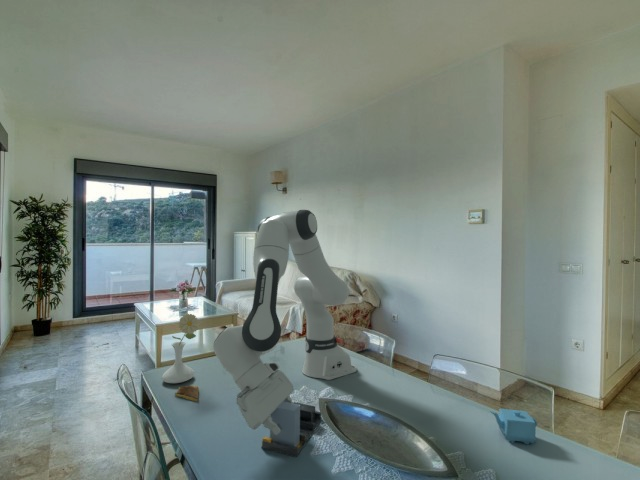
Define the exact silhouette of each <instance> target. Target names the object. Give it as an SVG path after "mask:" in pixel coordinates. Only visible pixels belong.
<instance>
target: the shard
mask: <svg viewBox="0 0 640 480" xmlns="http://www.w3.org/2000/svg"><path fill="white" fill-rule="evenodd" d="M199 388H200V387H199V386H198V385H185V386H179V387H178V389H177V391H176V392H175V393H174V396H175V397H178V398H183V399H186V400H189V401H192V402H199V390H200V389H199Z"/></svg>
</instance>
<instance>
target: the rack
mask: <svg viewBox="0 0 640 480" xmlns="http://www.w3.org/2000/svg"><path fill="white" fill-rule="evenodd" d="M293 403H294V404H299V405H300V442H299V443H298V445H297V446H292V445H288V444H283V443H279V442H275V441H273V439H272V438H270V436H269V437H267V436H263V438H262V441H261V450H267V451H271V452H274V453H277V454H282V455H285V456H290V457H294V458H297V457H298V456H299V455H300V454H301V451H303V449H304V447H305V445H306V444H307V443H308V441H309V439H310V438H311V436H312V434H313V433H314V431H315V430H316V429H315V428H317V427H318V426H319V424H320V422H321V421H322V419H323V418H322V411H316V406H314V405H309V404H305V403H300V402H295V401H294V402H293Z"/></svg>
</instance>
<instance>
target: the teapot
mask: <svg viewBox="0 0 640 480" xmlns="http://www.w3.org/2000/svg"><path fill="white" fill-rule="evenodd" d="M490 413H491V414H493V416H494V417H495V420H496V424H497V425H498V428H499V430H500V431H501V433H502V435H503V436H504V438H505V440H507V441H508V442H510V443H512V444H514V443H515V442H522V443H523V444H524V445H530V443H533V444H536V427H537V426H538V422H537V419H535V418H534V417H533V416H531V415H530V414H529V413H528V412H527V411H525V410H520V409H519V410H518V409H517V410H516V409H509V408H499V409H498V413H499V414H498V413H497V412H495V411H490Z"/></svg>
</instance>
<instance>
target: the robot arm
mask: <svg viewBox="0 0 640 480" xmlns="http://www.w3.org/2000/svg"><path fill="white" fill-rule="evenodd" d="M317 221H318V220H317V217H316V215H315V214H314V213H313V212H312V211H310V210H309V209H299V210H294V211H293V210H291V211H286V212H282V213H279V214H275V215H273V216H267V217H265V218H263V219H262V220H260V222H259V223H258V226H257V234H256V235H257V236H256V239H255V243H254V249H253V257H252V259H253V262H252V264H253V272H254V275H255V286H254V287H255V288H254V294H253V295H254V296H253V303H252V307H251V310H250V312H249V314H248V315H247V317H246V319H245V321H244V322H243V324H241V325H235V326H231V325H230V326H228V327H225V328H224V329H223V330H222V331H221V332H220V333H219V334H218V335H217V336H216V338H215V339H214V342H213V346H212V349H213V352H214V354H215V356H216V358H217V359H218V361H219V362H220V364H221V365H222V367H223V368H224V370H225V371H226V372H228V373H229V374H230V375H231V377H232V379H233V381H234V383H235V385H236V386H237V388H238V389H239V390H240V392H238V393H237V395H236V402H235V403H236V405H237V406H238V408H239V411H240V413H241V416H242V418H243V419H244V420H245V422H246V424H247V426H248V427H249V428H250V429H252V430H257V429H258V428H260V426H261V425H263V426H264V428H267V429H268V430H269V431H270V430H272V431H273V433H274V434H275V435H277V434H279V433H280V432H281V430H282V427H281V426H280V424H279V423H278V424H276V423H274V422H273V421H272V418H271V416H270V415H271V414H272V413H273V412H274V411H275V410H276V409H277V407H278V406H279V405H280V404H281V403H282V402H283V401H284V402H289V403H294V402H293V399H292V397H291V396H290V395H291V394H292V393H293V392H294V391H295V389H294V385H293V383H292V381H291V380H290V379H289V377H288V376H287V375H286V374H285V372H284V371H282V370H280V365H279V364H278V363H277V362H268V363H267V362H265V363H264V361H263V360H262V359H261V356H264V355H266V354H268V353H270V352H272V351H273V350H274V349H275V348H276V347H277V345H278V343H279V341H280V339H281V334H282V325H281V323H280V319H279V317H278V313H277V298H278V289H279V283H280V279H282V277H283V276H284V275H285V273H286V270H287V265H288V261H289V255H290V253H289V251H290V250H291V251H292V254H293V255H292V256H293V258H294V261H295V262H296V266H297V268H298V271H300V273H301V274H303V275H301V276H299V277H298V278H297V279H296V281H295V282H294V293H295V295H296V296H297V298H298V299H299V300H300V302H301V304H302V306H303V310H304V314H305V318H306V319H305V321H306V336H305V340H304V341H305V342H304V348H305V356H304V363H303V366H302V369H301V371H302V373H303V374H304V375H305V376H307V377H309V378H315V379H323V380H327V381H331V380H334V379H338V378H340V377H344V376H347V375H351V374H353V373H356V372H357V371H358V370H357V367H356V365H355V364H354V363H352V360H351V357H350V354H349V353H348V352H347V351H346V350H344V348H342V347H341V346H339V345H340V344H342V342H343V340H342V338H340V337H336V336H335V335H334V331H335V330H334V328H335V327H334V324H335V323H334V322H335V321H334V320H335V318H334V317H333V315H332V314H331V313H330V311H328V308H327V305H328V306H339V305H340V306H342V305H344V304H345V303H346V302H347V300H348V298H349V294H350V290H349V285H348V283H346V281H344V280H342V278H340V277H339V276H338V275H337V274H336V273H335V272H334V270H332V268H331V267H330V265H329V264H328V262H327V260H326V258H325V256H324V253H323V252H324V251H323V250H322V247H321V244H320V241H319V239H318V236H317V234H316V233H317V232H318V222H317Z"/></svg>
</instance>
